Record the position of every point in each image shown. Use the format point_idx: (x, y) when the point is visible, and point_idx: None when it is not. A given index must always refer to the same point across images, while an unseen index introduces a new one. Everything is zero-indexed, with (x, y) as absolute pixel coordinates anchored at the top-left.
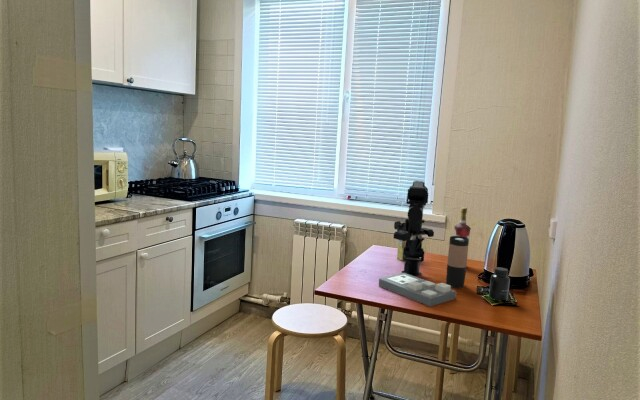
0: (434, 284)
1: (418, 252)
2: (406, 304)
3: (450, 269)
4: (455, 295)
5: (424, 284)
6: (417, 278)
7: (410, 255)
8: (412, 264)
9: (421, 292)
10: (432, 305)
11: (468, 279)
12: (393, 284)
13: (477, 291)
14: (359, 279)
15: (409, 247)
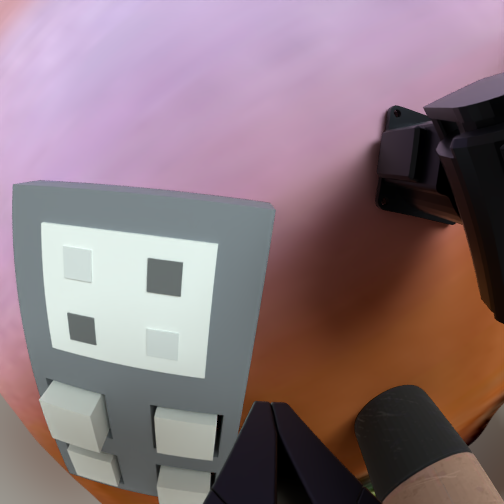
0: (202, 457)
1: (502, 304)
2: (18, 395)
3: (381, 481)
4: None
5: (156, 431)
6: (232, 352)
7: (458, 207)
8: (436, 197)
9: None
10: None
11: (485, 389)
12: (21, 308)
13: (368, 475)
14: (47, 42)
15: (216, 483)
